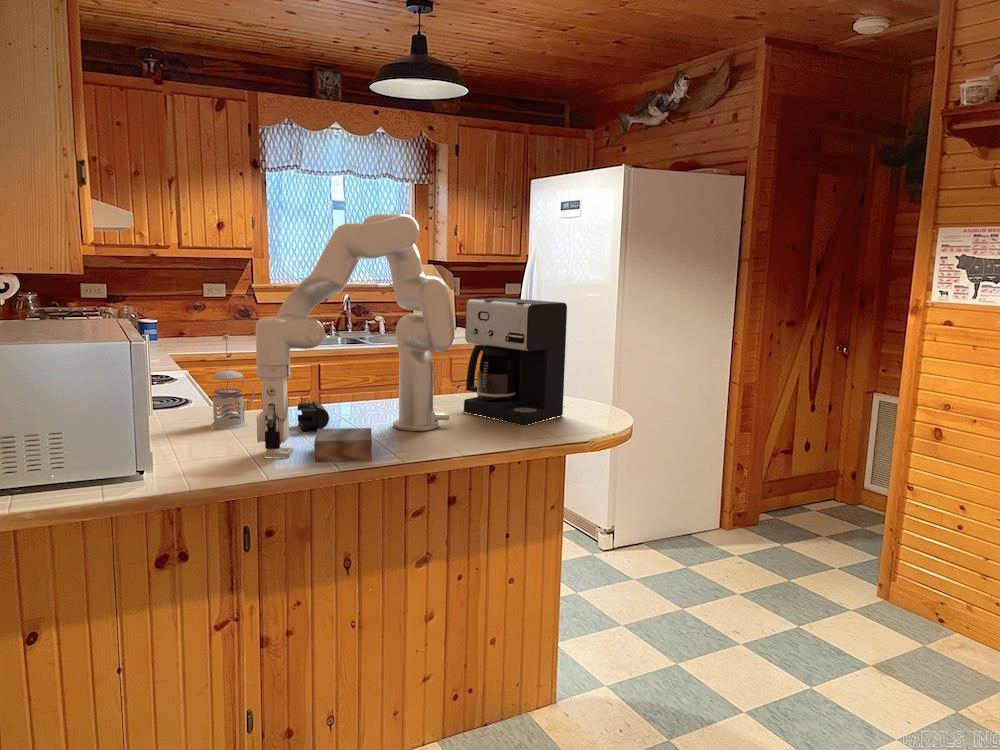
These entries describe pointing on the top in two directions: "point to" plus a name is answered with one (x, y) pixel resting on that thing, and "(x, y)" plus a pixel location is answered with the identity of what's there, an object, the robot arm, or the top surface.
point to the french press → (229, 400)
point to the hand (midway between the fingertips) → (275, 443)
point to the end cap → (312, 417)
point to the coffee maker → (516, 358)
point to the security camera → (283, 436)
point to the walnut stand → (343, 445)
